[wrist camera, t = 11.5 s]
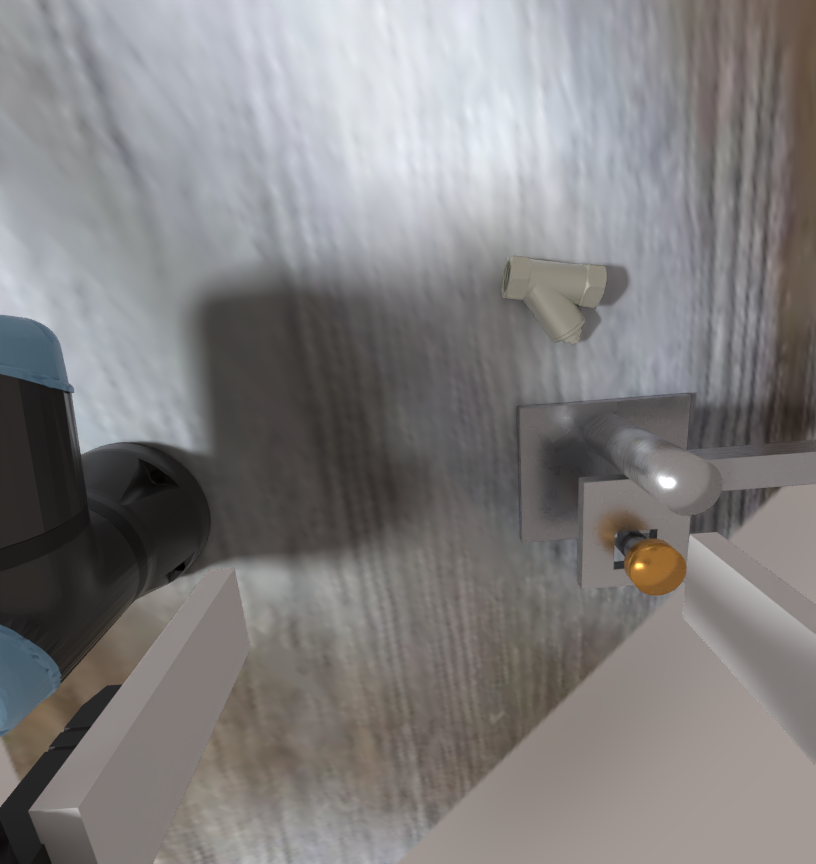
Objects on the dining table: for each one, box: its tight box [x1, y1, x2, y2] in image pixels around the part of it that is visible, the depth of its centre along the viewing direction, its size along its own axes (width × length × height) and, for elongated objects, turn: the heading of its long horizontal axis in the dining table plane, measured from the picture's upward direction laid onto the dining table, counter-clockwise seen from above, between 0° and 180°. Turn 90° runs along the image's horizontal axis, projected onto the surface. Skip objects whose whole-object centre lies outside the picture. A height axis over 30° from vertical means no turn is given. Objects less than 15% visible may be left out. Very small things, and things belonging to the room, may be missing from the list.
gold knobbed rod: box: [614, 530, 687, 595], centre depth 41 cm, size 4×4×10 cm
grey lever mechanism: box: [517, 393, 816, 589], centre depth 39 cm, size 23×15×15 cm, turn 95°
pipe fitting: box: [501, 256, 607, 344], centre depth 40 cm, size 8×4×7 cm
